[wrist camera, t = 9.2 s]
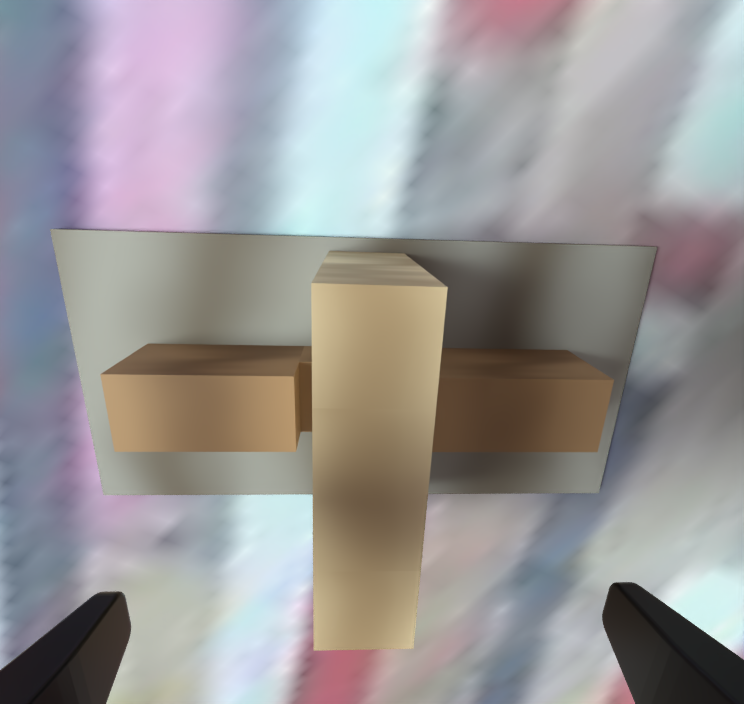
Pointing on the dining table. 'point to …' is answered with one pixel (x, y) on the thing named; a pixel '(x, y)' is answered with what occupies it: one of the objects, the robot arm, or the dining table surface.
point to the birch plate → (371, 443)
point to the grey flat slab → (294, 358)
